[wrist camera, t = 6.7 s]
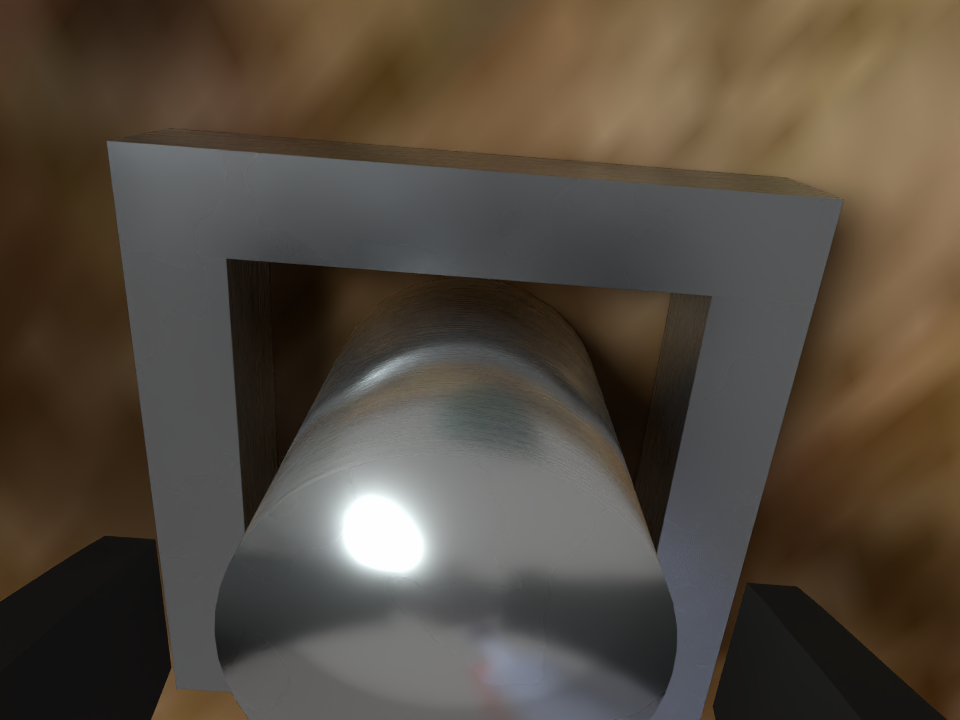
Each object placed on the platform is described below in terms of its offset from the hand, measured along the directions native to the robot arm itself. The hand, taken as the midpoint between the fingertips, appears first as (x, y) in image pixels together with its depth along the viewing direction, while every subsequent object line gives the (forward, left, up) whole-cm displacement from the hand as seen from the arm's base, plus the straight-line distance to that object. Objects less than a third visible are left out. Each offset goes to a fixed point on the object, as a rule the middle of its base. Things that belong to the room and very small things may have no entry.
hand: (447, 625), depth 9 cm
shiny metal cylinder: (0, -1, -5) cm, 5 cm away
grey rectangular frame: (0, 0, -5) cm, 5 cm away
